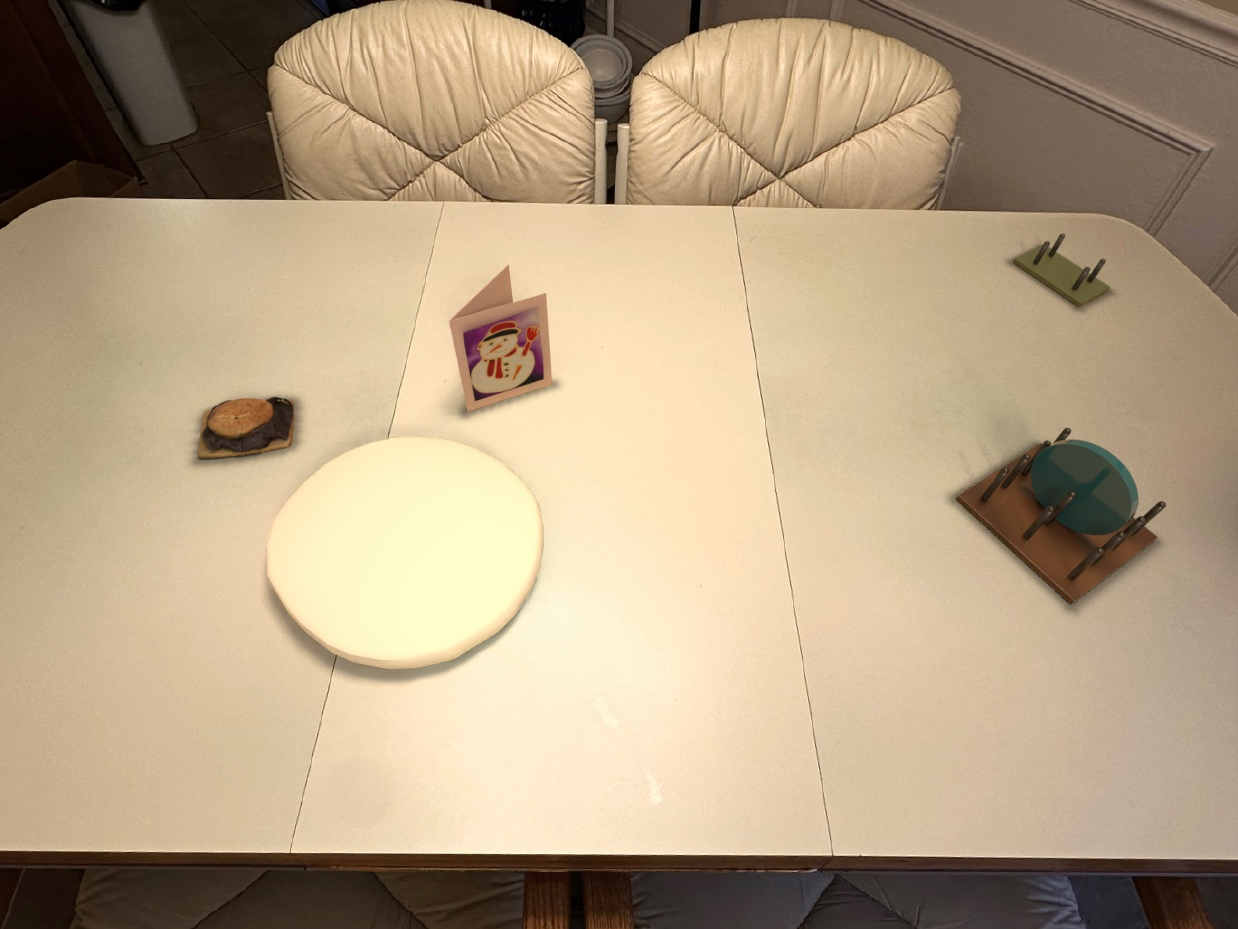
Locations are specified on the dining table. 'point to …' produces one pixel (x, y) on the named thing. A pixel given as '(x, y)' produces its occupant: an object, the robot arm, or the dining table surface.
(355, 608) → the plate
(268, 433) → the brown piece
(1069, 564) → the dish rack
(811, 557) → the dining table surface
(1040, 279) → the drying stand
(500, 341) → the greeting card
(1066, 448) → the small plate
